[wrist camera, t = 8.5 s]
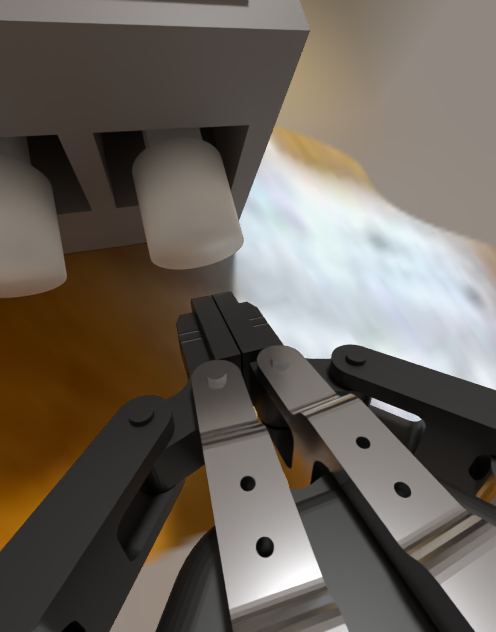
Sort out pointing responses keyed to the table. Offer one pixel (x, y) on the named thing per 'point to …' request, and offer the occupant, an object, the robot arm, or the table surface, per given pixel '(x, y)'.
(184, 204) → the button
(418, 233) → the table surface
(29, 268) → the button middle
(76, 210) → the button box
